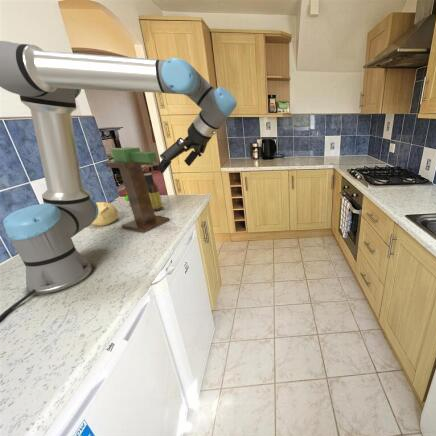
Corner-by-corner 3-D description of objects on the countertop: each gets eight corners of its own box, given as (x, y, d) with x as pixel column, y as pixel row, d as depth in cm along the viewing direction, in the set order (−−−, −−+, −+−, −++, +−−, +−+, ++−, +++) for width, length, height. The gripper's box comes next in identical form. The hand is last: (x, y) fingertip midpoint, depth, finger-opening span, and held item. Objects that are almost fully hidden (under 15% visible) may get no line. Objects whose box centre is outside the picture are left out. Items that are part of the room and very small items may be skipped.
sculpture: (83, 227, 113) (75, 206, 109) (106, 217, 124) (98, 197, 120) (104, 228, 111) (96, 207, 107) (125, 218, 122) (118, 198, 118)
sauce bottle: (152, 208, 135) (142, 173, 127) (164, 206, 137) (155, 172, 129) (149, 212, 129) (139, 175, 122) (162, 210, 131) (153, 174, 123)
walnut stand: (144, 232, 107) (123, 164, 95) (122, 227, 112) (100, 162, 100) (169, 220, 119) (154, 158, 107) (149, 216, 124) (132, 157, 112)
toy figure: (146, 163, 95) (142, 150, 93) (107, 161, 103) (104, 149, 101) (160, 160, 101) (158, 148, 99) (123, 158, 109) (120, 146, 107)
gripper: (183, 141, 73) (154, 182, 84) (230, 135, 94) (201, 167, 105) (167, 121, 72) (139, 164, 83) (217, 119, 94) (190, 153, 104)
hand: (174, 166), depth 94 cm, fingers open, 13 cm apart
